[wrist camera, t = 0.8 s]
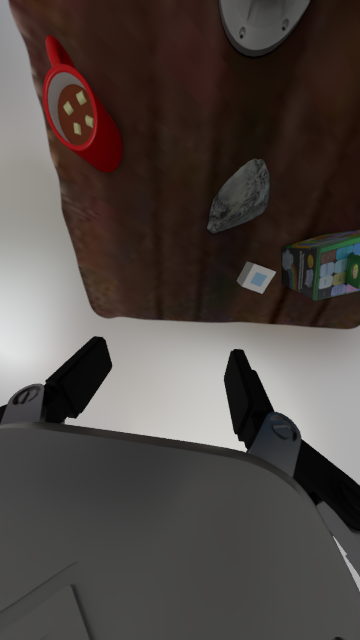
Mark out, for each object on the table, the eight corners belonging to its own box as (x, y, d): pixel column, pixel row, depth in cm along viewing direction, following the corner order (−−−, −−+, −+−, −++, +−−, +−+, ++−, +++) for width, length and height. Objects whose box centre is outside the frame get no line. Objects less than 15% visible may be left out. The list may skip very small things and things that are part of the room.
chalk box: (324, 274, 34) (404, 294, 21) (281, 285, 36) (329, 310, 23) (329, 231, 30) (432, 221, 17) (280, 246, 32) (338, 248, 19)
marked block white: (246, 261, 34) (254, 263, 30) (266, 268, 34) (276, 272, 30) (236, 281, 36) (242, 286, 32) (254, 287, 37) (262, 294, 32)
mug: (97, 62, 23) (54, -16, 16) (129, 162, 28) (107, 136, 21) (59, 89, 25) (5, 29, 18) (95, 179, 30) (65, 159, 23)
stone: (247, 232, 23) (267, 139, 18) (199, 233, 29) (203, 163, 24) (268, 234, 29) (287, 164, 24) (224, 234, 35) (232, 179, 30)
